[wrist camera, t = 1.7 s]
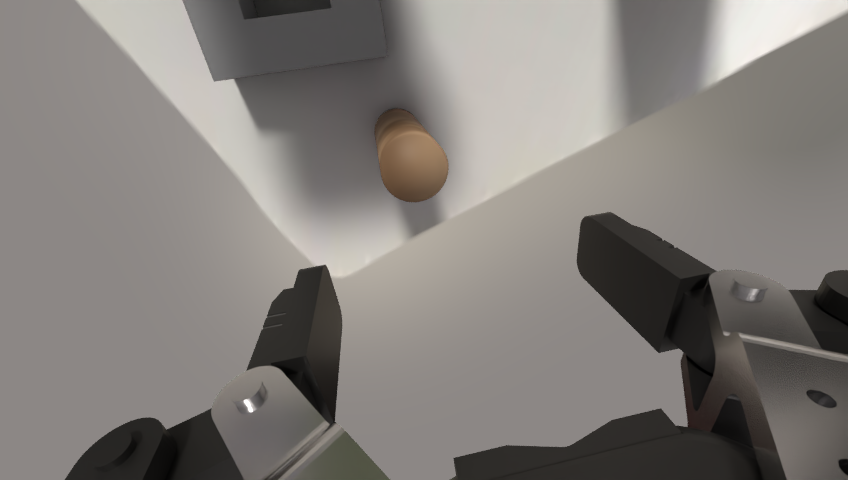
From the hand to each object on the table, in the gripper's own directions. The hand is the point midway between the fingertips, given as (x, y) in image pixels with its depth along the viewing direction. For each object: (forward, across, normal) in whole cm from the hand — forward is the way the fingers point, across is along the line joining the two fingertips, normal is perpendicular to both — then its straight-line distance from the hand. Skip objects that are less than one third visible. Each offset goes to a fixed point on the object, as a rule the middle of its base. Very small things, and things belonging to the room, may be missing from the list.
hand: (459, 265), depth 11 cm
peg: (+23, 0, 0) cm, 23 cm away
